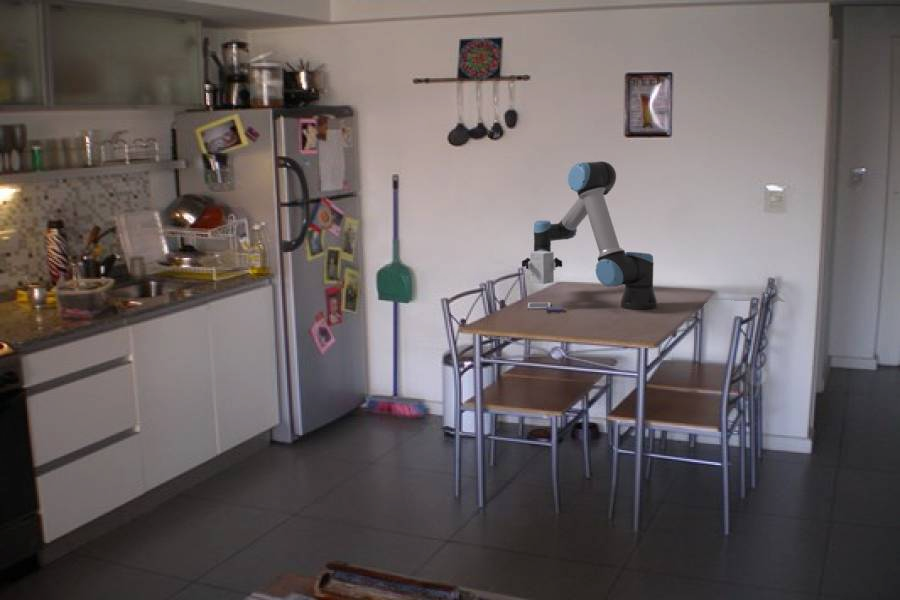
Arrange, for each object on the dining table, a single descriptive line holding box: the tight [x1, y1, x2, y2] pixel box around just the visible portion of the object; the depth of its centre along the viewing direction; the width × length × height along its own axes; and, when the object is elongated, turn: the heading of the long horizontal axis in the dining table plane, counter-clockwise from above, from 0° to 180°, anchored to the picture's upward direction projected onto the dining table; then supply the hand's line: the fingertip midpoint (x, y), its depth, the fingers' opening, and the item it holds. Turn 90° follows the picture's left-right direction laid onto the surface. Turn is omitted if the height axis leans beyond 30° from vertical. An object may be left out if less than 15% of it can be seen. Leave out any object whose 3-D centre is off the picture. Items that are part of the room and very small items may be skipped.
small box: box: [529, 250, 555, 285], centre depth 414 cm, size 8×6×13 cm
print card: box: [527, 301, 551, 310], centre depth 419 cm, size 9×11×1 cm
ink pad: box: [546, 306, 565, 314], centre depth 409 cm, size 7×7×1 cm
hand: (541, 266), depth 409 cm, fingers closed on small box, 10 cm apart
